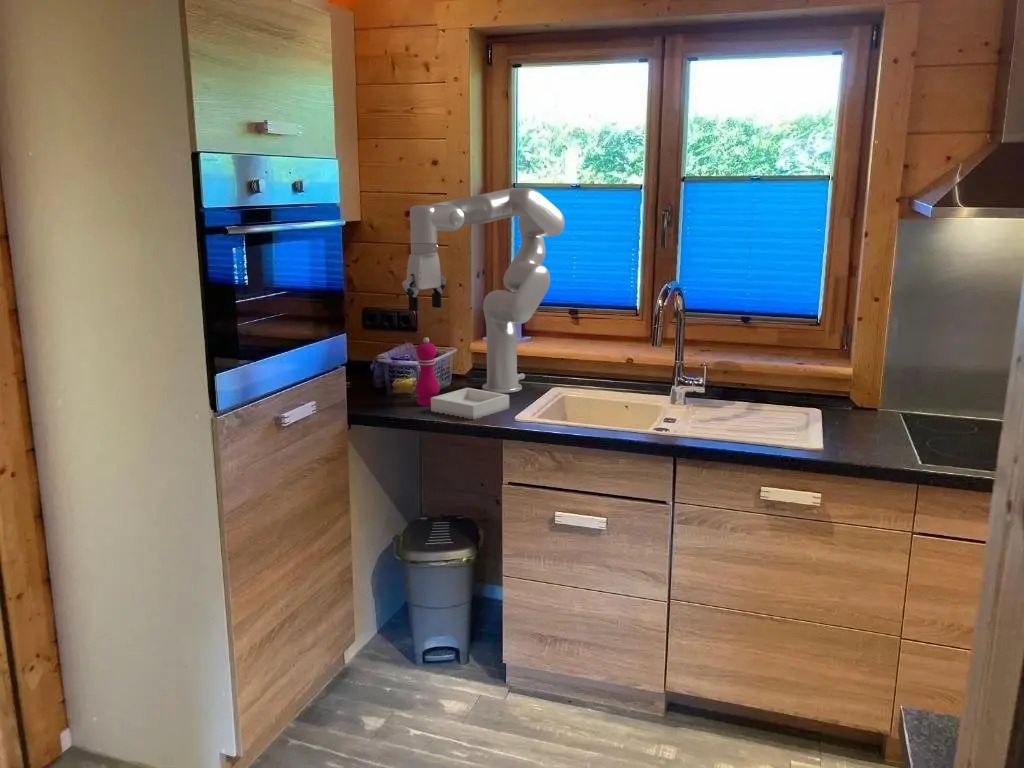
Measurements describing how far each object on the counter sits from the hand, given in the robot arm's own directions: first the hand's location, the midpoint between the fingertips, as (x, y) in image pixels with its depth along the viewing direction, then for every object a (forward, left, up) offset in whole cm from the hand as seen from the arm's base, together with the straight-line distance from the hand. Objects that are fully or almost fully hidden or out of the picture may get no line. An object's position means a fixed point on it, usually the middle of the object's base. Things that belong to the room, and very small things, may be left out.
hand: (425, 309), depth 242 cm
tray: (-2, +15, -28) cm, 32 cm away
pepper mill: (0, 0, -29) cm, 29 cm away
